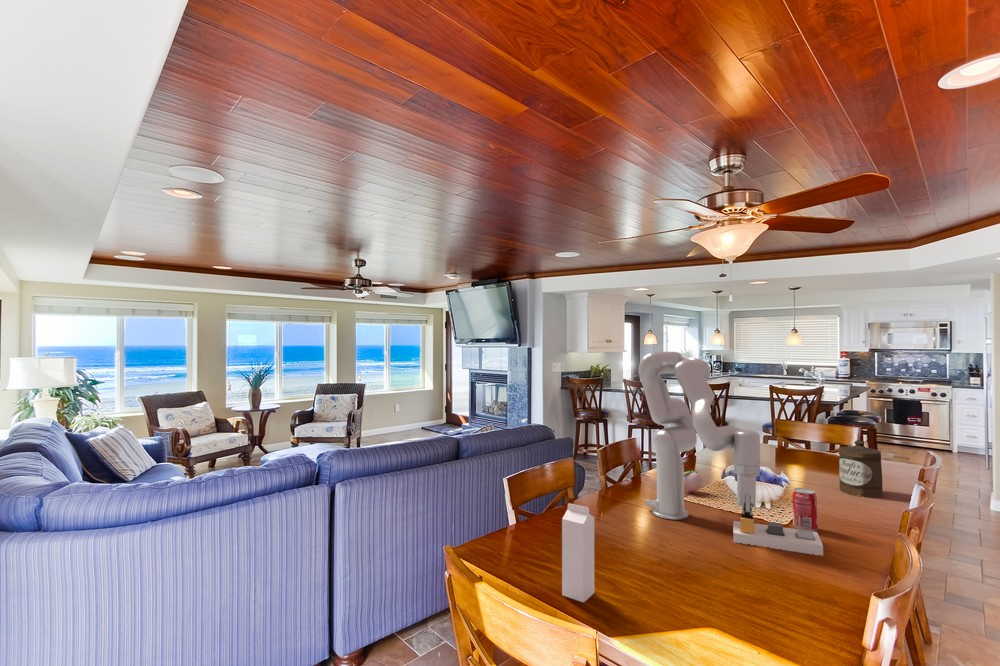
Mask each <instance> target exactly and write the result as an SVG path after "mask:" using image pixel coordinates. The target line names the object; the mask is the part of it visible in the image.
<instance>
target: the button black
mask: <svg viewBox="0 0 1000 666" xmlns="http://www.w3.org/2000/svg"><path fill="white" fill-rule="evenodd" d="M767 525H768V534H772V535H779V536H783V528H784V526H783V523H781V522H776V521H775V522H774V521H767Z"/></svg>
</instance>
